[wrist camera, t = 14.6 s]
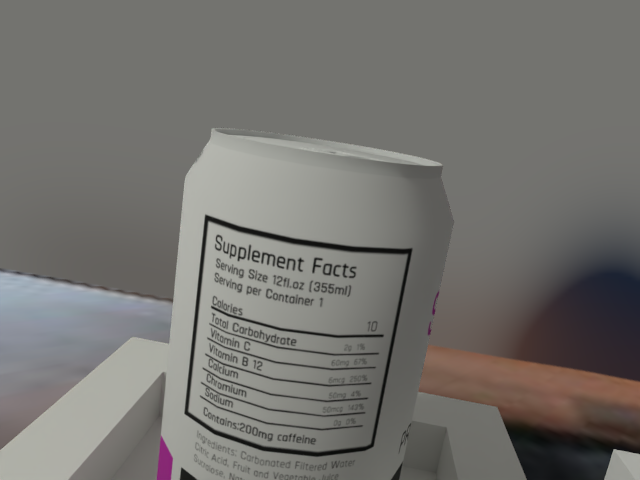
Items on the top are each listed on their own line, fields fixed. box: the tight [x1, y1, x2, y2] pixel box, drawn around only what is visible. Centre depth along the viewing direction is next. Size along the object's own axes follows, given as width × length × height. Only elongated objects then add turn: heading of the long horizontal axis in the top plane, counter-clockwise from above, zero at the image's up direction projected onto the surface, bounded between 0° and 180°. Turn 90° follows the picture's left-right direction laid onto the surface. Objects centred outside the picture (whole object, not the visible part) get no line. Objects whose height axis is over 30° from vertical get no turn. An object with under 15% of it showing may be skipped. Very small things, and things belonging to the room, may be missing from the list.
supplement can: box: [157, 128, 454, 480], centre depth 18 cm, size 8×8×15 cm
